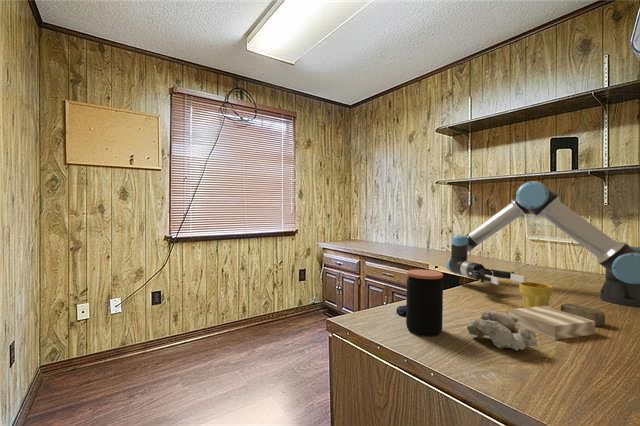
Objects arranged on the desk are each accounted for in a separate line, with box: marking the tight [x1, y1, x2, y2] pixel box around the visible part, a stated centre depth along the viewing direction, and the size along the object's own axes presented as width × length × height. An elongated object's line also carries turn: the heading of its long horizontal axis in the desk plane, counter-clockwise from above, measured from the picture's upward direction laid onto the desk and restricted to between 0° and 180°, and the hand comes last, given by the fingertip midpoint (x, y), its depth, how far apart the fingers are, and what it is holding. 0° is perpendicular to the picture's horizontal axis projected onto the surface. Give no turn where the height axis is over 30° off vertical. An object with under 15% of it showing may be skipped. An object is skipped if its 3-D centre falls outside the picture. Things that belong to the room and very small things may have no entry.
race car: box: [391, 304, 406, 317], centre depth 115 cm, size 15×7×4 cm, turn 102°
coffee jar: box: [405, 268, 444, 337], centre depth 99 cm, size 11×11×18 cm
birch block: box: [508, 306, 596, 341], centre depth 103 cm, size 16×16×4 cm
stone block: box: [559, 303, 606, 327], centre depth 110 cm, size 6×12×5 cm, turn 25°
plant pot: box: [518, 281, 553, 308], centre depth 121 cm, size 10×10×10 cm
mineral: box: [466, 309, 538, 352], centre depth 89 cm, size 12×17×10 cm
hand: (511, 280), depth 131 cm, fingers open, 13 cm apart
